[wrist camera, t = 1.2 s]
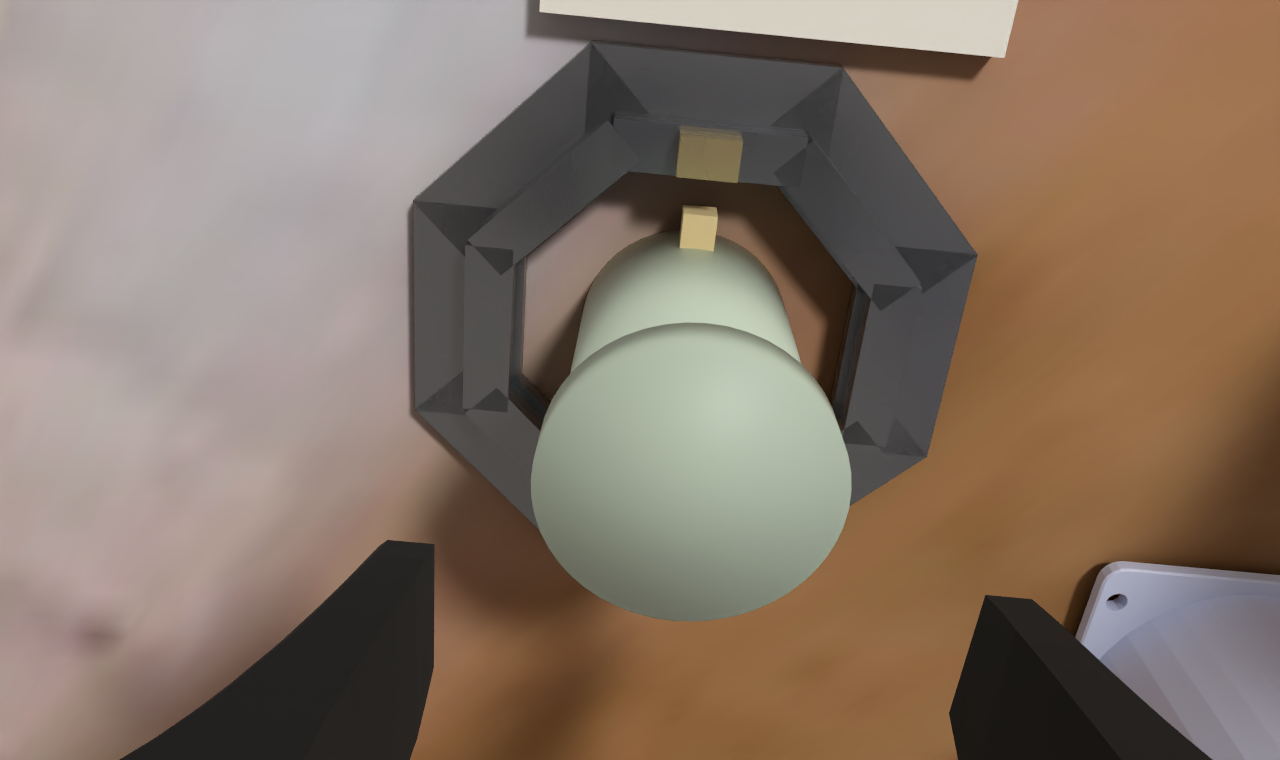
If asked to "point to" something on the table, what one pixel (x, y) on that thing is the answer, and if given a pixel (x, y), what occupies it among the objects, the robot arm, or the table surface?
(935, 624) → the table surface
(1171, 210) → the table surface
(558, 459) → the pale green jar
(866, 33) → the plate
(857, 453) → the bayonet collar
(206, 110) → the table surface
